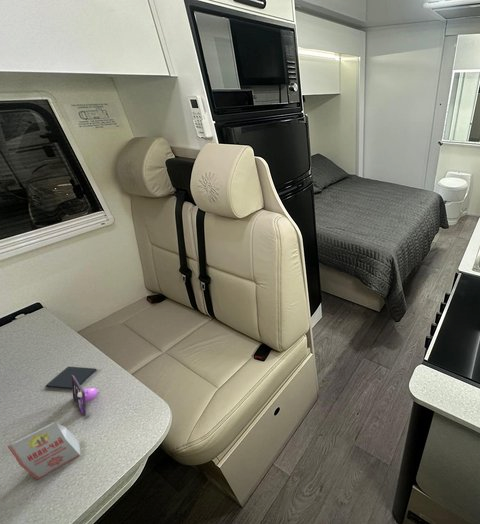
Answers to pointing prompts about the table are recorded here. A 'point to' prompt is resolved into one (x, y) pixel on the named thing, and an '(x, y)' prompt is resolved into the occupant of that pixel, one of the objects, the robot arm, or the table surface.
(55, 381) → the mat
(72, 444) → the white red carton
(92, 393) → the purple knobbed frame
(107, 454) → the table surface
